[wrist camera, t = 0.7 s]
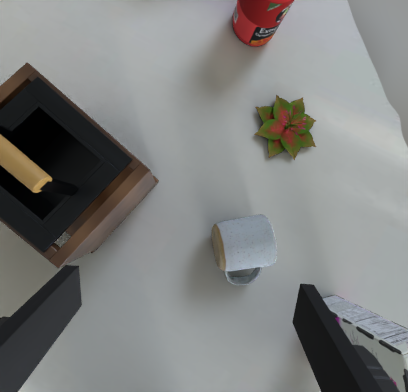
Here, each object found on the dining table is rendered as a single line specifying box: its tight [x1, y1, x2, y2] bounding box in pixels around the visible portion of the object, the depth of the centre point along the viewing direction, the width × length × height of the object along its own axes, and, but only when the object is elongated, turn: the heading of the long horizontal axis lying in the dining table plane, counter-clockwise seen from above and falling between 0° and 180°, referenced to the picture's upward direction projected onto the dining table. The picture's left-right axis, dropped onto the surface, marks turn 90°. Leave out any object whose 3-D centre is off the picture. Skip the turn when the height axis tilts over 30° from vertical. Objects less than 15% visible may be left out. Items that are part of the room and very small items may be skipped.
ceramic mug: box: [212, 214, 277, 285], centre depth 36 cm, size 11×8×8 cm
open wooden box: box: [0, 63, 159, 268], centre depth 31 cm, size 14×16×13 cm
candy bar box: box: [322, 295, 408, 392], centre depth 33 cm, size 11×5×16 cm, turn 11°
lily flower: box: [255, 95, 316, 160], centre depth 40 cm, size 12×12×5 cm
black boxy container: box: [0, 76, 133, 252], centre depth 24 cm, size 12×12×14 cm
